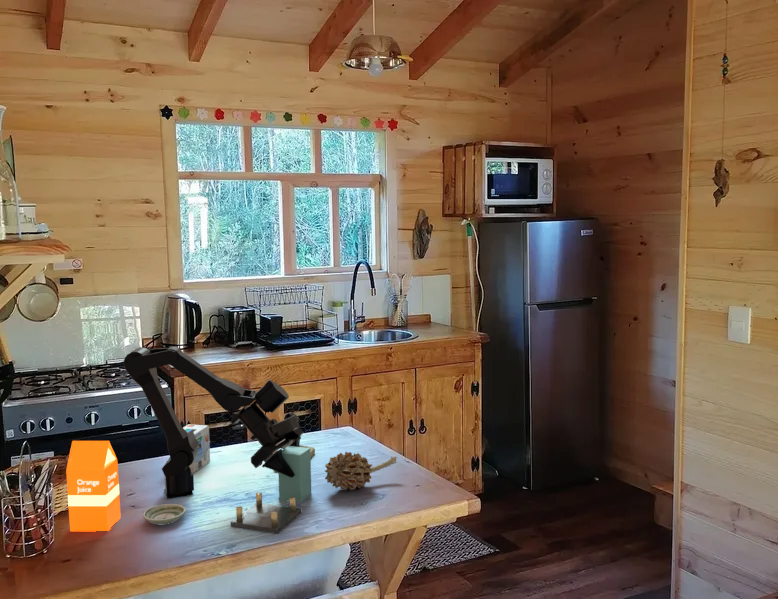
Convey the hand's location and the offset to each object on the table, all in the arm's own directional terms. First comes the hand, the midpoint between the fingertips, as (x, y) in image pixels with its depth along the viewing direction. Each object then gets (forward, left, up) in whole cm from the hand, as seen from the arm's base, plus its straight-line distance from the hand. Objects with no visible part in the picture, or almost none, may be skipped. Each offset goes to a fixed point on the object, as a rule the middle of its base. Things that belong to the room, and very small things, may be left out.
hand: (299, 471), depth 188 cm
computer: (+6, +27, -7) cm, 28 cm away
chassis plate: (-11, -11, -7) cm, 17 cm away
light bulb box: (-22, +35, -7) cm, 42 cm away
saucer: (-33, -1, -7) cm, 34 cm away
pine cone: (+17, +1, -7) cm, 18 cm away
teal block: (-1, +1, -7) cm, 7 cm away
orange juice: (-48, +3, -7) cm, 49 cm away
